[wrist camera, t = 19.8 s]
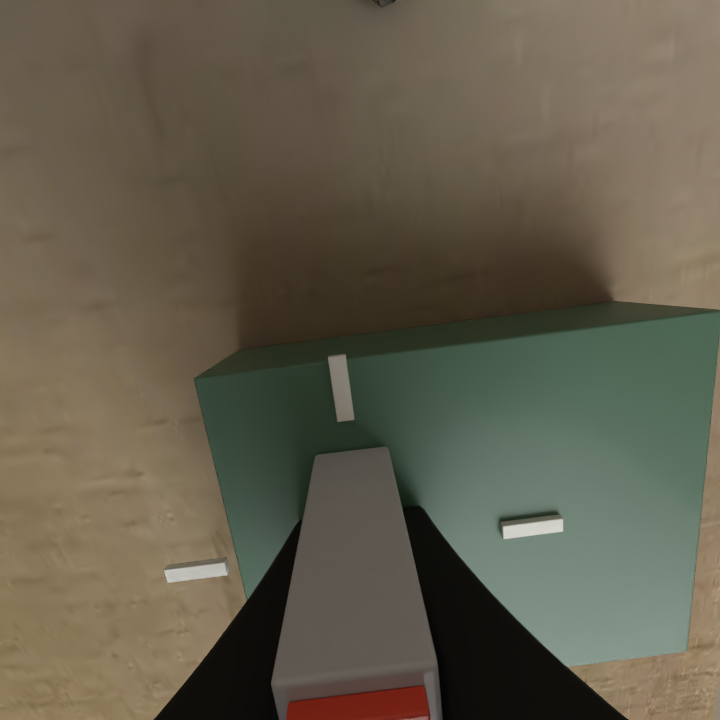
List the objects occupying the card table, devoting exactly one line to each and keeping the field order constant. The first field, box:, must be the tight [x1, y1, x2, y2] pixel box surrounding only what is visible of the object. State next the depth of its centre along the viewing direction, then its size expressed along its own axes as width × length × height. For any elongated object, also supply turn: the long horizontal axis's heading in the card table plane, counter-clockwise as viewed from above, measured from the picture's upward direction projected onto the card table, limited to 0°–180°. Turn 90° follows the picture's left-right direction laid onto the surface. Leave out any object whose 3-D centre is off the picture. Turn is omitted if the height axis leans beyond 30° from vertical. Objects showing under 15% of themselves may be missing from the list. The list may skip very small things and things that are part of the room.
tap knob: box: [271, 447, 443, 720], centre depth 6 cm, size 5×2×5 cm, turn 7°
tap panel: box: [164, 301, 720, 667], centre depth 10 cm, size 13×9×3 cm
